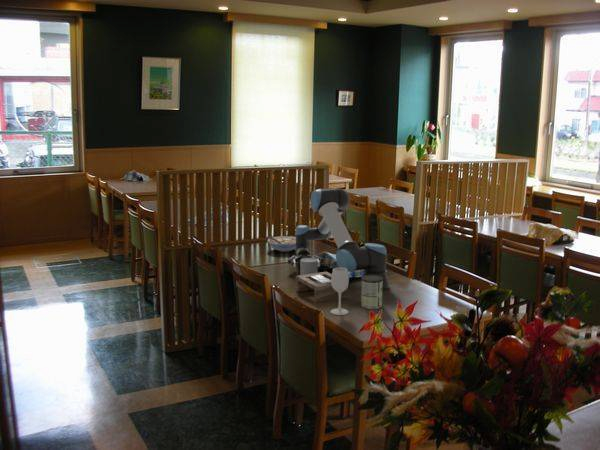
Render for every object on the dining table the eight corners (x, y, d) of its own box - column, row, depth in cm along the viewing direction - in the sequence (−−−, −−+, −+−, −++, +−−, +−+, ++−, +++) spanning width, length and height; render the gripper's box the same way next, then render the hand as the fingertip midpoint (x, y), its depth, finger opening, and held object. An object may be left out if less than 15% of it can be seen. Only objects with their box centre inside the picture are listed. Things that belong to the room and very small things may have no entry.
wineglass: (337, 308, 304) (338, 265, 300) (352, 311, 299) (353, 268, 294) (326, 312, 297) (327, 269, 293) (341, 316, 292) (342, 272, 288)
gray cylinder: (315, 284, 342) (316, 262, 340) (298, 283, 344) (298, 261, 341) (318, 279, 351) (319, 258, 349) (302, 278, 353) (302, 257, 351)
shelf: (347, 297, 320) (347, 282, 319) (316, 302, 312) (316, 286, 311) (326, 286, 339) (326, 271, 338) (296, 290, 332) (296, 275, 330)
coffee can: (359, 302, 313) (360, 274, 310) (380, 302, 313) (381, 274, 310) (362, 309, 303) (362, 280, 300) (383, 308, 303) (384, 280, 300)
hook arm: (334, 285, 319) (334, 281, 319) (323, 287, 317) (323, 283, 316) (319, 278, 333) (319, 274, 332) (309, 279, 330) (309, 276, 330)
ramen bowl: (308, 253, 410) (308, 241, 408) (274, 256, 402) (274, 244, 400) (294, 245, 433) (294, 233, 431) (262, 248, 424) (262, 236, 423)
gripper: (324, 260, 378) (328, 270, 358) (282, 261, 376) (284, 271, 355) (324, 248, 377) (329, 257, 356) (282, 249, 375) (284, 258, 354)
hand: (307, 264), depth 356 cm, fingers open, 13 cm apart
